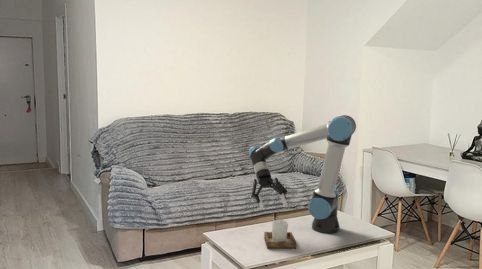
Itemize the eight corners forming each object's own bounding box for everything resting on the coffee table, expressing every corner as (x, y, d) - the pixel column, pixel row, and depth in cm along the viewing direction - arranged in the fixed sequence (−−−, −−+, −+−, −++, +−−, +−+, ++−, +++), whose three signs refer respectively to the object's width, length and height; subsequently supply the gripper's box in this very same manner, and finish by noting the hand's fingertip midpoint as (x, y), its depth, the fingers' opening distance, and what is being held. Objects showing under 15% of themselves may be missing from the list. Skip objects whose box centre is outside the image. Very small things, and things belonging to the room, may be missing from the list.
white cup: (275, 245, 212) (276, 225, 211) (268, 239, 219) (269, 220, 218) (289, 243, 215) (291, 223, 214) (282, 238, 222) (283, 219, 221)
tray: (291, 238, 225) (291, 232, 224) (295, 249, 211) (296, 242, 210) (264, 238, 224) (264, 231, 223) (267, 248, 210) (267, 241, 210)
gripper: (280, 174, 242) (292, 208, 230) (238, 177, 232) (249, 212, 220) (285, 167, 236) (298, 201, 224) (243, 169, 226) (254, 205, 214)
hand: (274, 207), depth 222 cm, fingers open, 13 cm apart
